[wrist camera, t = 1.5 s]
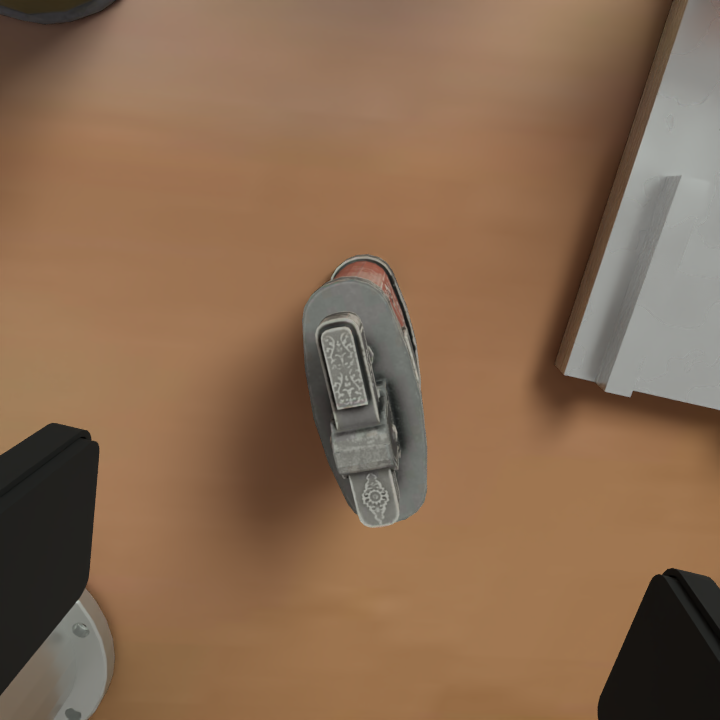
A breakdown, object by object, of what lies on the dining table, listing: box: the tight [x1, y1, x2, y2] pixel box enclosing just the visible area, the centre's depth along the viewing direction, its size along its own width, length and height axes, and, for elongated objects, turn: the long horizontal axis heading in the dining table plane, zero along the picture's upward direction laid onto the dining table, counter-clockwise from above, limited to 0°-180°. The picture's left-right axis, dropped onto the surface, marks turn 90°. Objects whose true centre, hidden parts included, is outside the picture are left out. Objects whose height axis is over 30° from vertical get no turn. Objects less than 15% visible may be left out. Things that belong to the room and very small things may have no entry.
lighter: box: [302, 254, 427, 527], centre depth 20 cm, size 8×3×10 cm, turn 12°
